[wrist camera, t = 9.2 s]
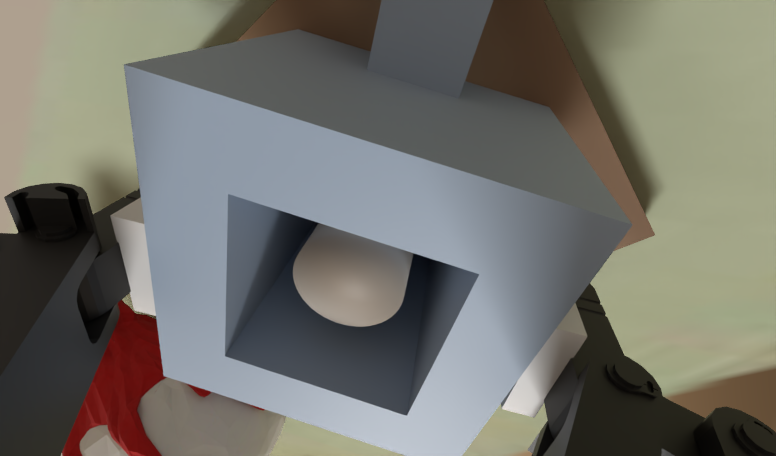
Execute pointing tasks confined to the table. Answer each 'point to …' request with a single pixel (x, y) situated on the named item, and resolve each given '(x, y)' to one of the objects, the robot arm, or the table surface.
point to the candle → (161, 406)
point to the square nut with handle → (361, 223)
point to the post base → (488, 69)
